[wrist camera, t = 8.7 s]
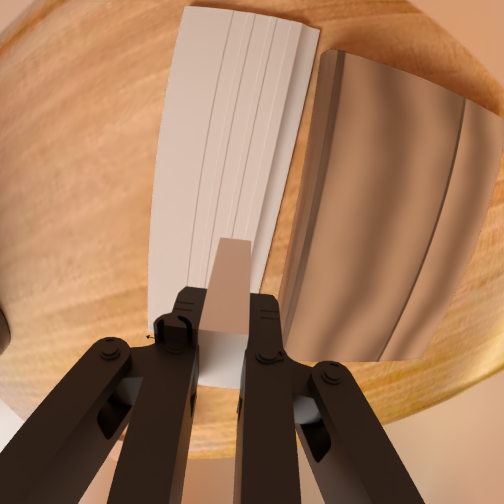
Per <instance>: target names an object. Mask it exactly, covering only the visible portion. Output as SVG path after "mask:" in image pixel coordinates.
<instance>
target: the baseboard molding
mask: <svg viewBox="0 0 504 504" xmlns="http://www.w3.org/2000/svg"><path fill="white" fill-rule="evenodd" d="M319 33H320V30H319V29H315V28H311V27H308V26H306V25H305V24H303V23H300V22H296V21H290V20H286V19H281V18H277V17H273V16H266V15H260V14H256V13H250V12H241V11H234V10H228V9H219V8H209V7H195V6H185V8H184V12H183V16H182V20H181V24H180V28H179V32H178V36H177V41H176V45H175V49H174V54H173V59H172V64H171V68H170V74H169V79H168V84H167V90H166V95H165V101H164V107H163V113H162V120H161V127H160V134H159V141H158V149H157V157H156V166H155V175H154V185H153V196H152V208H151V223H150V240H149V264H148V332H151V333H154V328H153V323H154V321H155V320H156V318H158V317H159V316H161V315H163V314H167V313H171V312H172V309H173V306H174V303H175V300H176V298H177V295H178V292H180V291H181V290H182V289H183V288H184V287H185V286H190V287H198V288H206V289H208V285H209V281H210V277H211V273H212V268H213V264H214V260H215V256H216V252H217V248H218V244H219V240H220V237H222V238H231V239H240V240H249V241H251V272H250V293H258V294H259V290H260V286H261V282H262V278H263V274H264V270H265V266H266V262H267V258H268V254H269V250H270V245H271V241H272V237H273V233H274V229H275V225H276V221H277V217H278V213H279V209H280V204H281V200H282V196H283V192H284V188H285V183H286V179H287V175H288V171H289V167H290V162H291V158H292V154H293V149H294V145H295V141H296V136H297V132H298V128H299V123H300V119H301V115H302V110H303V106H304V101H305V97H306V92H307V88H308V83H309V79H310V74H311V70H312V65H313V61H314V56H315V52H316V47H317V42H318V38H319ZM149 336H150V335H148V336H146V337H147V338H148V339H149ZM150 338H153V337H150ZM154 339H155V338H154Z"/></svg>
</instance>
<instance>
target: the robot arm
mask: <svg viewBox="0 0 504 504" xmlns="http://www.w3.org/2000/svg"><path fill="white" fill-rule="evenodd" d="M250 272H251V241H249V240H240V239H231V238H222V237H220V240H219V244H218V248H217V252H216V256H215V260H214V264H213V268H212V273H211V277H210V281H209V285H208V289H206V288H198V287H190V286H185V287H184V288H183V289H182V290H181V291H180V292H178V295H177V298H176V300H175V303H174V306H173V309H172V312H171V313H167V314H163V315H161V316H159V317H158V318H156V320H155V321H154V323H153V328H154V337H155V343H154V344H152V345H149V346H144V347H132V348H130V347H129V345H128V344H127V342H125V341H124V340H122V339H121V338H116V337H106V338H103V339H100V340H98V341H97V342H95V343H94V344H93V345H92V346H91V347H90V348H89V349H88V351H87V352H86V353H85V354H84V355H83V356H82V357H81V358H80V359H79V360H78V362H77V363H76V364H75V365H74V366H73V367H72V368H71V369H70V370H69V372H68V373H67V374H66V375H65V376H64V377H63V378H62V379H61V381H60V382H59V383H58V384H57V385H56V386H55V387H54V389H53V390H52V391H51V392H50V393H49V394H48V396H47V397H46V398H45V399H44V400H43V401H42V403H41V404H40V405H39V406H38V407H37V408H36V410H35V411H34V412H33V413H32V414H31V416H30V417H29V418H28V419H27V420H26V422H25V423H24V424H23V425H22V427H21V428H20V429H19V430H18V431H17V433H16V434H15V435H14V437H13V438H12V439H11V440H10V442H9V443H8V444H7V445H6V446H5V448H4V449H3V450H2V452H1V453H0V504H78V502H79V501H80V499H81V498H82V496H83V494H84V493H85V491H86V490H87V488H88V486H89V485H90V483H91V482H92V480H93V479H94V477H95V475H96V473H97V472H98V471H99V469H100V467H101V466H102V464H103V463H104V461H105V459H106V458H107V456H108V455H109V453H110V452H111V450H112V448H113V447H114V445H115V444H116V442H117V441H118V439H119V438H120V436H121V434H122V433H123V431H124V430H125V428H126V427H127V425H128V427H127V431H126V434H125V437H124V441H123V444H122V448H121V451H120V455H119V458H118V462H117V466H116V469H115V473H114V477H113V481H112V484H111V488H110V492H109V496H108V501H107V504H181V500H182V492H183V485H184V477H185V470H186V463H187V456H188V450H189V443H190V436H191V430H192V423H193V417H194V411H195V404H196V398H197V383H198V385H204V386H212V387H221V388H231V389H240V395H239V401H238V407H237V413H238V419H237V438H236V457H235V459H236V460H235V477H234V478H235V479H234V498H233V499H234V500H233V504H301V492H300V478H299V467H298V454H297V442H296V431H297V434H298V436H299V439H300V441H301V444H302V447H303V449H304V452H305V454H306V457H307V459H308V462H309V464H310V467H311V469H312V472H313V474H314V477H315V479H316V482H317V484H318V487H319V489H320V492H321V494H322V497H323V499H324V502H325V504H425V503H424V501H423V499H422V497H421V495H420V494H419V492H418V490H417V488H416V486H415V484H414V482H413V481H412V479H411V477H410V475H409V473H408V472H407V470H406V468H405V466H404V465H403V463H402V461H401V459H400V457H399V455H398V454H397V452H396V450H395V448H394V447H393V445H392V443H391V441H390V440H389V438H388V436H387V434H386V433H385V431H384V429H383V427H382V426H381V424H380V422H379V420H378V419H377V417H376V415H375V413H374V412H373V410H372V408H371V406H370V405H369V403H368V401H367V400H366V398H365V396H364V394H363V393H362V391H361V389H360V388H359V386H358V384H357V383H356V381H355V379H354V377H353V376H352V374H351V372H350V371H349V370H348V369H347V368H346V367H345V366H344V365H342V364H341V363H339V362H335V361H321V362H319V363H317V364H316V365H315V366H314V367H310V366H307V365H303V364H301V363H298V362H296V361H294V360H293V359H291V358H290V357H289V356H288V355H287V352H286V351H285V350H284V348H283V340H282V330H281V321H280V310H279V303H278V301H277V300H276V299H275V297H274V296H273V295H268V294H258V293H250ZM9 343H10V333H9V329H8V325H7V323H6V320H5V318H4V316H3V314H2V312H1V310H0V356H1V355H2V354H3V352H4V351H5V349H6V348H7V347H8V345H9ZM128 423H129V424H128ZM295 429H296V430H295Z"/></svg>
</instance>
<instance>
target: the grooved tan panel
mask: <svg viewBox="0 0 504 504" xmlns="http://www.w3.org/2000/svg"><path fill="white" fill-rule="evenodd" d="M503 147H504V119H503V118H501V117H499V116H498V115H496V114H494V113H493V112H491V111H489V110H487V109H486V108H484V107H482V106H480V105H478V104H476V103H475V102H473V101H471V100H469V99H467V98H465V97H463V96H461V95H459V94H457V93H455V92H453V91H451V90H448V89H446V88H444V87H442V86H440V85H437V84H435V83H433V82H430V81H428V80H426V79H423V78H421V77H418V76H416V75H413V74H411V73H408V72H406V71H403V70H400V69H397V68H395V67H392V66H389V65H386V64H383V63H380V62H377V61H374V60H370V59H367V58H364V57H360V56H357V55H353V54H350V53H346V52H344V51H340V50H334V49H329V50H328V51H326V52H325V53H323V54H322V55H321V58H320V65H319V72H318V79H317V86H316V93H315V99H314V106H313V112H312V118H311V125H310V131H309V137H308V143H307V149H306V155H305V161H304V166H303V172H302V178H301V183H300V189H299V194H298V200H297V205H296V211H295V216H294V221H293V226H292V232H291V237H290V242H289V247H288V252H287V257H286V262H285V267H284V272H283V277H282V281H281V286H280V291H279V296H278V300H277V301H278V303H279V310H280V321H281V330H282V340H283V348H284V350H285V351H286V352H287V355H288V356H289V357H290V358H291V359H293V360H294V361H311V362H321V361H335V362H379V361H402V360H419V359H421V357H422V355H423V354H424V352H425V350H426V348H427V347H428V345H429V343H430V342H431V340H432V338H433V336H434V334H435V333H436V331H437V329H438V327H439V325H440V323H441V321H442V319H443V318H444V316H445V314H446V312H447V310H448V308H449V306H450V304H451V302H452V299H453V297H454V295H455V293H456V291H457V289H458V287H459V284H460V282H461V280H462V278H463V275H464V273H465V271H466V268H467V266H468V263H469V261H470V259H471V256H472V253H473V251H474V248H475V246H476V243H477V240H478V237H479V235H480V232H481V229H482V226H483V223H484V220H485V217H486V214H487V211H488V207H489V204H490V201H491V197H492V194H493V190H494V186H495V183H496V179H497V175H498V171H499V166H500V162H501V157H502V152H503Z"/></svg>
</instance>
